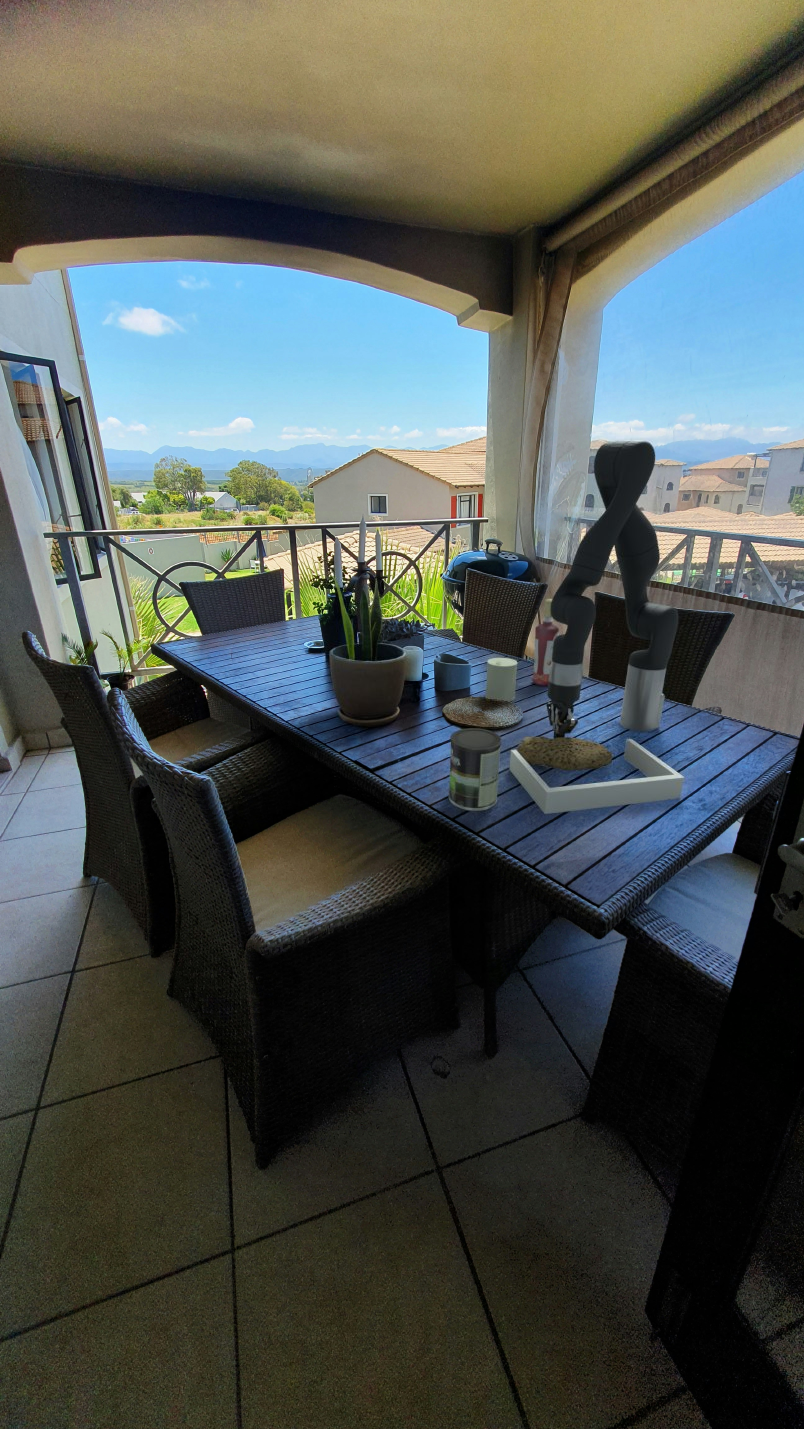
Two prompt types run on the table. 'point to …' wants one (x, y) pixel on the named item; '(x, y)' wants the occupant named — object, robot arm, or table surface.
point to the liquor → (544, 647)
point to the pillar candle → (501, 679)
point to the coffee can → (474, 768)
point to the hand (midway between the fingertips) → (557, 745)
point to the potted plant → (367, 669)
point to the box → (603, 784)
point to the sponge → (564, 753)
